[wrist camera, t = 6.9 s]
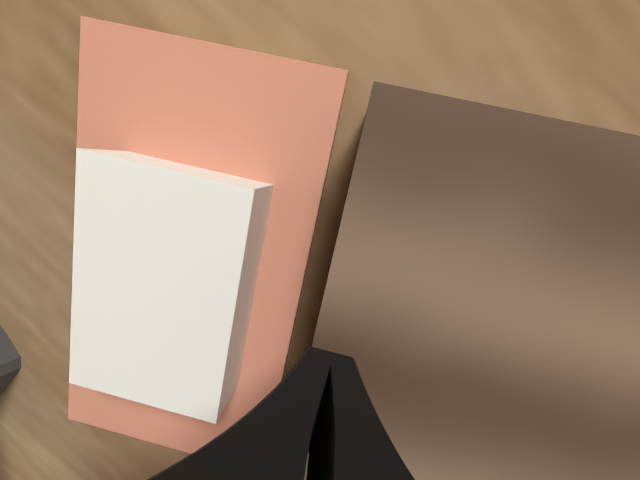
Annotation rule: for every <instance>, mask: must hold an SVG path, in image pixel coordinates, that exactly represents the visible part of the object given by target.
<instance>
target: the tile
mask: <svg viewBox="0 0 640 480" xmlns="http://www.w3.org/2000/svg"><path fill="white" fill-rule="evenodd" d="M273 187H274V185H273V184H268V183H264V182H260V181H255V180H251V179H247V178H242V177H238V176H234V175H229V174H225V173H221V172H216V171H212V170H207V169H203V168H199V167H194V166H190V165H186V164H181V163H177V162H173V161H168V160H164V159H160V158H155V157H151V156H147V155H142V154H138V153H133V152H129V151H118V150H101V149H84V148H77V150H76V181H75V213H74V244H73V276H72V307H71V339H70V370H69V383H71V384H75V385H78V386H82V387H85V388H89V389H92V390H96V391H100V392H103V393H107V394H110V395H114V396H117V397H121V398H125V399H128V400H132V401H135V402H139V403H142V404H146V405H150V406H153V407H157V408H160V409H164V410H167V411H171V412H175V413H178V414H182V415H185V416H189V417H193V418H196V419H200V420H203V421H207V422H210V423H214V424H216V423H217V421H218V419H219V418H220V416H221V414H222V412H223V410H224V409H225V407H226V405H227V403H228V401H229V399H230V398H231V396H232V394H233V392H234V390H235V389H236V387H237V385H238V383H239V377H240V372H241V366H242V361H243V355H244V349H245V344H246V338H247V333H248V327H249V321H250V316H251V310H252V305H253V299H254V293H255V288H256V282H257V277H258V271H259V265H260V260H261V254H262V249H263V243H264V238H265V232H266V226H267V221H268V215H269V210H270V204H271V198H272V193H273Z"/></svg>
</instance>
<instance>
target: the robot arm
mask: <svg viewBox="0 0 640 480" xmlns="http://www.w3.org/2000/svg"><path fill="white" fill-rule="evenodd" d="M308 451H309V456H308ZM307 456H308V466H307V477H306V480H415V479H414V477H413V476H412V474H411V473H410V471H409V470H408V468H407V467H406V465H405V463H404V462H403V460H402V459H401V457H400V455H399V453H398V452H397V450H396V448H395V446H394V445H393V443H392V441H391V439H390V437H389V436H388V434H387V432H386V430H385V428H384V426H383V424H382V422H381V420H380V418H379V416H378V414H377V412H376V410H375V408H374V406H373V404H372V402H371V400H370V397H369V395H368V393H367V390H366V388H365V386H364V383H363V381H362V378H361V376H360V373H359V370H358V367H357V365H356V362H355V360H354V358H353V357H350V356H346V355H342V354H338V353H334V352H330V351H327V350H323V349H319V348H315V347H311V346H310V347H308V348H306V349H305V351H304V353H303V355H302V356H301V358H300V359H299V361H298V362H297V363H296V365H295V366H294V367H293V368H292V370H291V371H290V372H289V373H288V374H287V375H286V376H285V377H284V379H283V380H282V381H281V382H280V383H279V384H278V385H277V386H276V387H275V388H274V389H273V390H272V391H271V392H270V393H269V394H268V395H267V396H266V397H265V398H264V399H263V400H261V401H260V402H259V403H258V404H257V405H256V406H255V407H254V408H253V409H252V410H250V411H249V412H248V413H247V414H246V415H245V416H243V417H242V418H241V419H240V420H238V421H237V422H236V423H235V424H233V425H232V426H231V427H229V428H228V429H227V430H225V431H224V432H223V433H221V434H220V435H218V436H217V437H216V438H214V439H213V440H211V441H210V442H208V443H207V444H205V445H204V446H203V447H201V448H200V449H198V450H197V451H195V452H194V453H192V454H191V455H189V456H187V457H186V458H184V459H183V460H181V461H179V462H178V463H176V464H174V465H172V466H171V467H169V468H167V469H165V470H164V471H162V472H160V473H158V474H157V475H155V476H153V477H151V478H150V479H148V480H304V476H305V469H306V463H307Z"/></svg>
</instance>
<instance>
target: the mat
mask: <svg viewBox="0 0 640 480" xmlns="http://www.w3.org/2000/svg"><path fill="white" fill-rule="evenodd" d="M348 74H349V73H348V70H344V69H339V68H334V67H329V66H324V65H320V64H315V63H310V62H305V61H300V60H295V59H290V58H285V57H280V56H275V55H271V54H266V53H261V52H256V51H251V50H246V49H241V48H236V47H231V46H227V45H222V44H217V43H212V42H207V41H202V40H197V39H192V38H187V37H182V36H178V35H173V34H168V33H163V32H158V31H153V30H148V29H143V28H138V27H133V26H129V25H124V24H119V23H114V22H109V21H104V20H99V19H94V18H89V17H84V16H81V24H80V56H79V87H78V119H77V148H84V149H101V150H118V151H129V152H133V153H138V154H142V155H147V156H151V157H155V158H160V159H164V160H168V161H173V162H177V163H181V164H186V165H190V166H194V167H199V168H203V169H207V170H212V171H216V172H221V173H225V174H229V175H234V176H238V177H242V178H247V179H251V180H255V181H260V182H264V183H268V184H273V185H274V187H273V193H272V198H271V204H270V210H269V215H268V221H267V226H266V232H265V238H264V243H263V249H262V254H261V260H260V265H259V271H258V277H257V282H256V288H255V293H254V299H253V305H252V310H251V316H250V321H249V327H248V333H247V338H246V344H245V349H244V355H243V361H242V366H241V372H240V377H239V383H238V385H237V387H236V389H235V390H234V392H233V394H232V396H231V398H230V399H229V401H228V403H227V405H226V407H225V409H224V410H223V412H222V414H221V416H220V418H219V419H218V421H217V423H216V424H214V423H210V422H207V421H203V420H200V419H196V418H193V417H189V416H185V415H182V414H178V413H175V412H171V411H167V410H164V409H160V408H157V407H153V406H150V405H146V404H142V403H139V402H135V401H132V400H128V399H125V398H121V397H117V396H114V395H110V394H107V393H103V392H100V391H96V390H92V389H89V388H85V387H82V386H78V385H75V384H71V383H69V402H68V419H72V420H75V421H78V422H82V423H85V424H89V425H92V426H96V427H99V428H103V429H106V430H110V431H113V432H117V433H120V434H124V435H127V436H131V437H134V438H138V439H141V440H145V441H148V442H152V443H155V444H159V445H162V446H166V447H169V448H173V449H176V450H180V451H183V452H187V453H190V454H192V453H194V452H195V451H197V450H198V449H200V448H201V447H203V446H204V445H205V444H207V443H208V442H210V441H211V440H213V439H214V438H216V437H217V436H218V435H220V434H221V433H223V432H224V431H225V430H227V429H228V428H229V427H231V426H232V425H233V424H235V423H236V422H237V421H238V420H240V419H241V418H242V417H243V416H245V415H246V414H247V413H248V412H249V411H250V410H252V409H253V408H254V407H255V406H256V405H257V404H258V403H259V402H260V401H261V400H263V399H264V398H265V397H266V396H267V395H268V394H269V393H270V392H271V391H272V390H273V389H274V388H275V387H276V386H277V385H278V384H279V383H280V382H281V381H282V379H283V374H284V370H285V365H286V360H287V356H288V351H289V346H290V342H291V337H292V333H293V328H294V323H295V319H296V314H297V309H298V305H299V300H300V296H301V291H302V286H303V282H304V277H305V272H306V268H307V263H308V259H309V254H310V249H311V245H312V240H313V235H314V231H315V226H316V222H317V217H318V212H319V208H320V203H321V198H322V194H323V189H324V185H325V180H326V175H327V171H328V166H329V161H330V157H331V152H332V148H333V143H334V138H335V134H336V129H337V124H338V120H339V115H340V111H341V106H342V101H343V97H344V92H345V87H346V83H347V78H348Z"/></svg>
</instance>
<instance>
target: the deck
mask: <svg viewBox="0 0 640 480" xmlns="http://www.w3.org/2000/svg"><path fill="white" fill-rule="evenodd" d="M312 347H315V348H319V349H323V350H327V351H330V352H334V353H338V354H342V355H346V356H350V357H353V358H354V360H355V362H356V365H357V367H358V370H359V373H360V376H361V378H362V381H363V383H364V386H365V388H366V390H367V393H368V395H369V397H370V400H371V402H372V404H373V406H374V408H375V410H376V412H377V414H378V416H379V418H380V420H381V422H382V424H383V426H384V428H385V430H386V432H387V434H388V436H389V437H390V439H391V441H392V443H393V445H394V446H395V448H396V450H397V452H398V453H399V455H400V457H401V459H402V460H403V462H404V463H405V465H406V467H407V468H408V470H409V471H410V473H411V474H412V476H413V477H414V479H415V480H640V136H637V135H632V134H628V133H623V132H618V131H613V130H608V129H603V128H598V127H593V126H589V125H584V124H579V123H574V122H569V121H564V120H559V119H554V118H550V117H545V116H540V115H535V114H530V113H525V112H520V111H516V110H511V109H506V108H501V107H496V106H491V105H486V104H481V103H477V102H472V101H467V100H462V99H457V98H452V97H447V96H442V95H438V94H433V93H428V92H423V91H418V90H413V89H408V88H404V87H399V86H394V85H389V84H384V83H379V82H374V83H373V87H372V91H371V96H370V100H369V104H368V108H367V113H366V117H365V121H364V125H363V130H362V134H361V138H360V142H359V147H358V151H357V155H356V159H355V164H354V168H353V172H352V176H351V181H350V185H349V189H348V194H347V198H346V202H345V206H344V211H343V215H342V219H341V223H340V228H339V232H338V236H337V240H336V245H335V249H334V253H333V257H332V262H331V266H330V270H329V274H328V279H327V283H326V287H325V291H324V296H323V300H322V304H321V309H320V313H319V317H318V321H317V326H316V330H315V334H314V338H313V343H312ZM308 456H309V451H308ZM308 456H307V463H306V469H305V476H304V480H306V477H307V466H308Z"/></svg>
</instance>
